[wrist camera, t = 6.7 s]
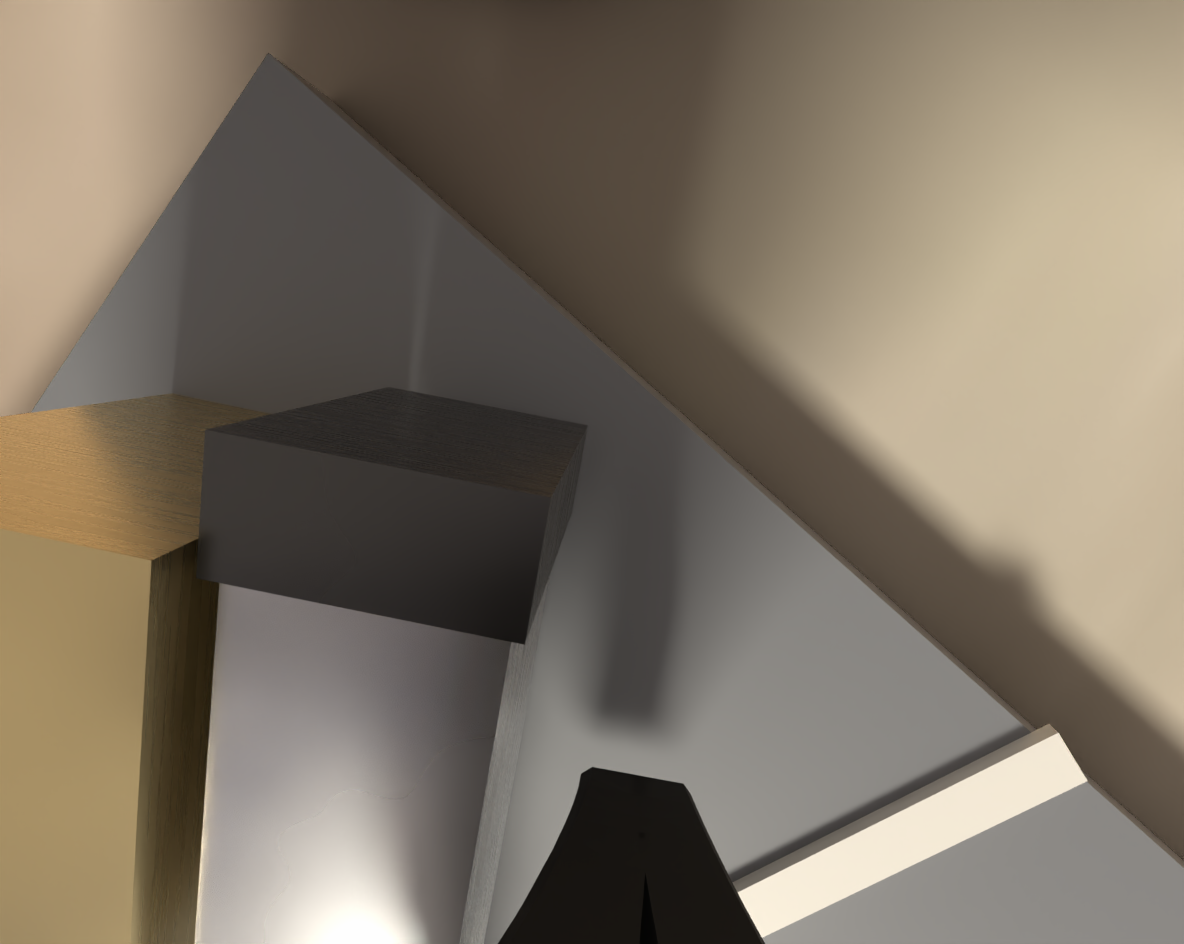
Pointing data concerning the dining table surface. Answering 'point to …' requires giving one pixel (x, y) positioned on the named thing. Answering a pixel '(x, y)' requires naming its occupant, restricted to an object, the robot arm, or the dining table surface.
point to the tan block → (104, 670)
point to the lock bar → (371, 661)
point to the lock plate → (634, 568)
